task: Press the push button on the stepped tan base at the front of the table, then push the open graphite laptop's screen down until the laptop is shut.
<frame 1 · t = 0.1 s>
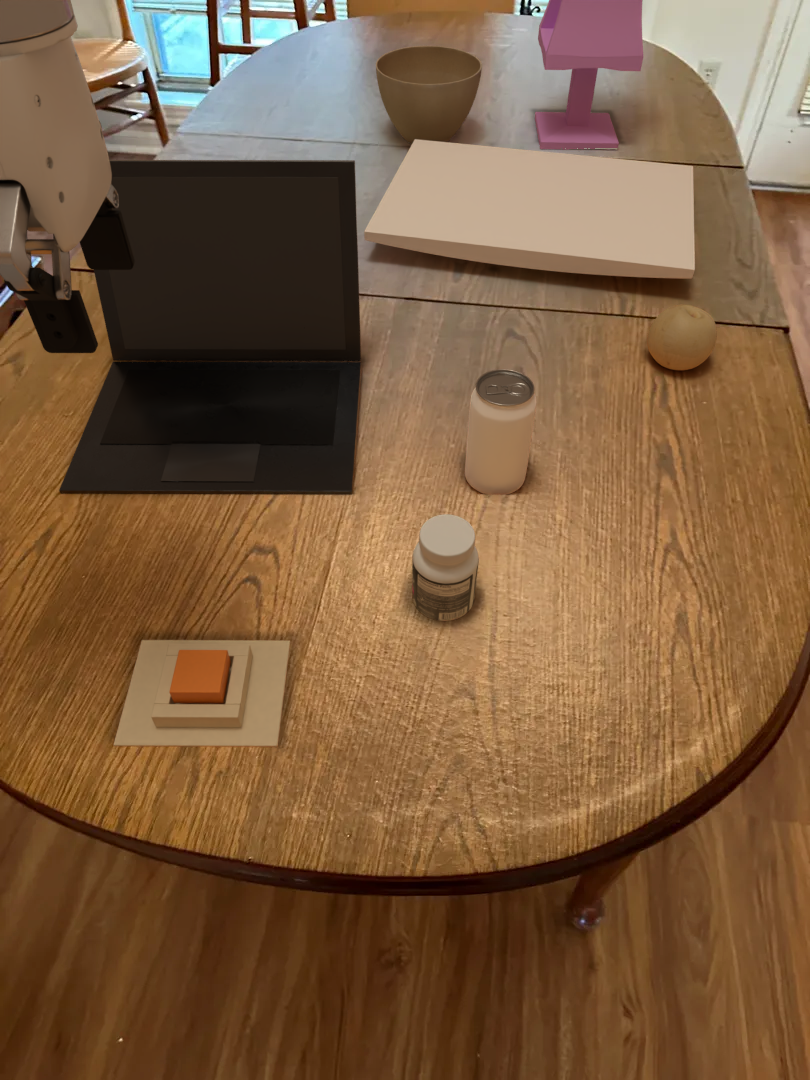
hand: (93, 306, 52), 30 cm above the table, tool pointing down, fingers open, 9 cm apart
laptop: (225, 433, 89), on the table
flower pot: (427, 139, 142), on the table
board: (534, 228, 120), on the table
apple: (674, 361, 98), on the table
can: (494, 478, 84), on the table
stepped tan base: (209, 699, 66), on the table
push button: (201, 676, 64), point 4 cm above the table, slide at 0.1 cm
laptop screen: (225, 267, 89), point 12 cm above the table, hinge at 105.0°
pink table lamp: (574, 135, 144), on the table
pill bottle: (442, 606, 73), on the table
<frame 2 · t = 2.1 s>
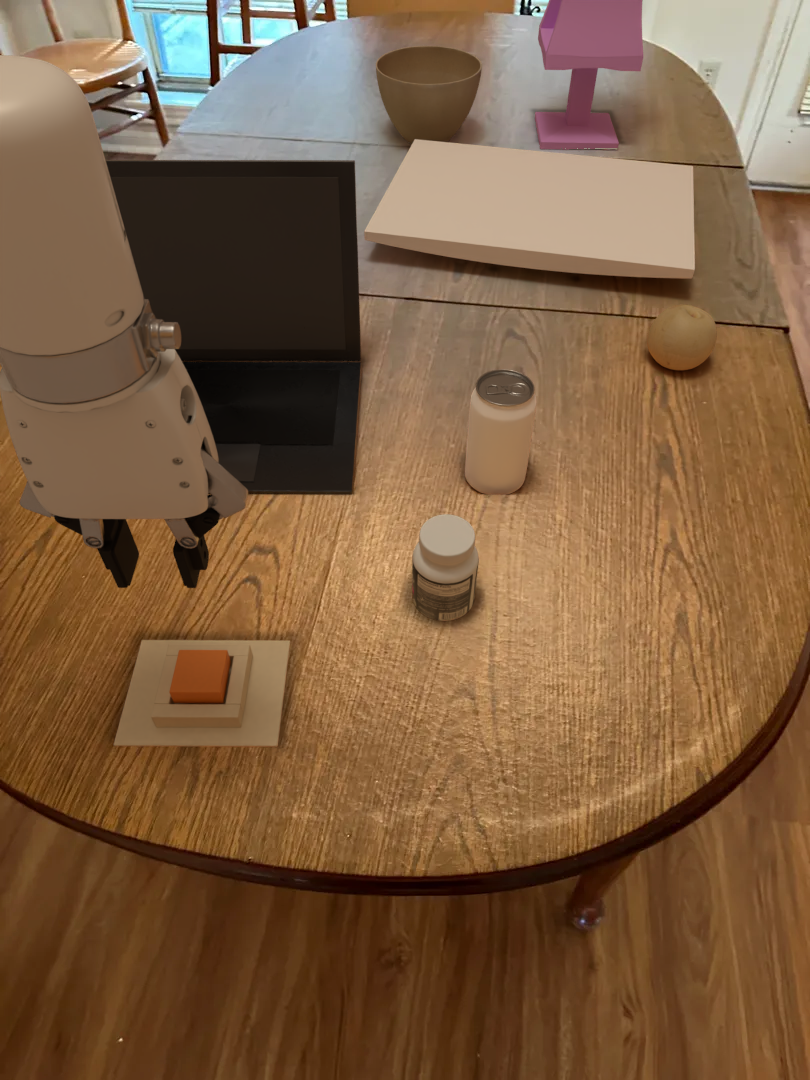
hand: (161, 569, 53), 17 cm above the table, tool pointing down, fingers open, 3 cm apart
nothing on the table moved.
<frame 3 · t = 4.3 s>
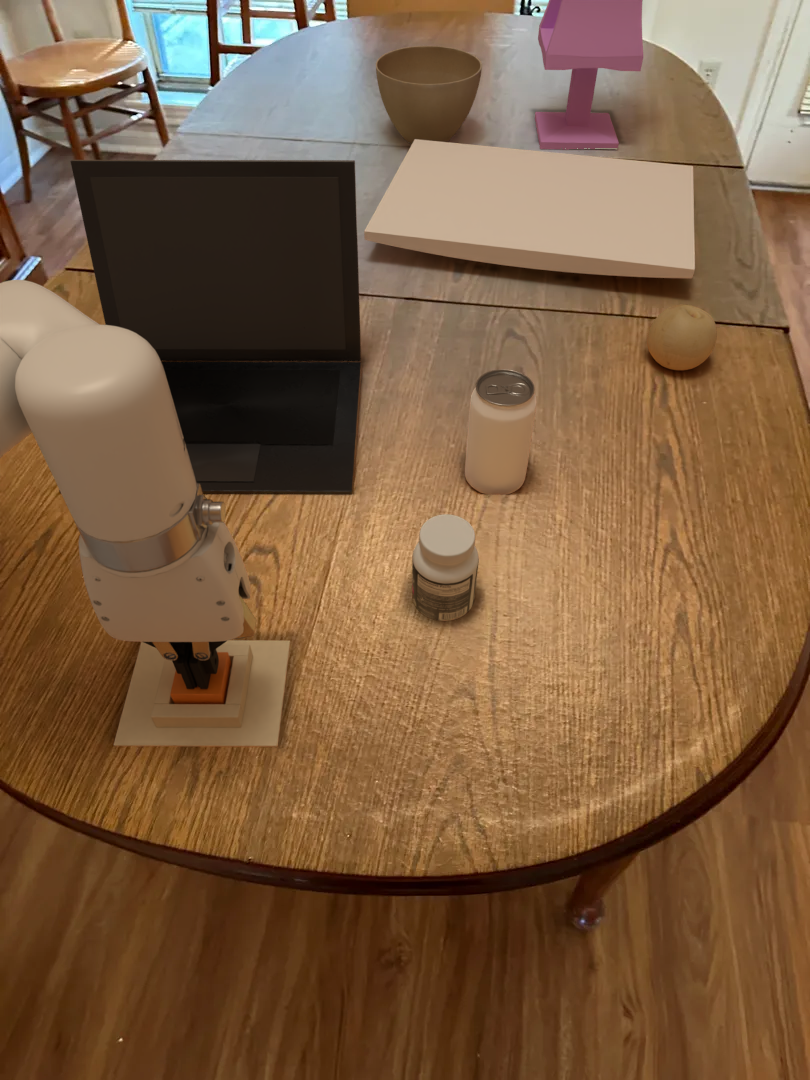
hand: (201, 673, 63), 4 cm above the table, tool pointing down, fingers closed
push button: (201, 678, 64), point 3 cm above the table, slide at -0.3 cm, touching gripper
everything else where it was.
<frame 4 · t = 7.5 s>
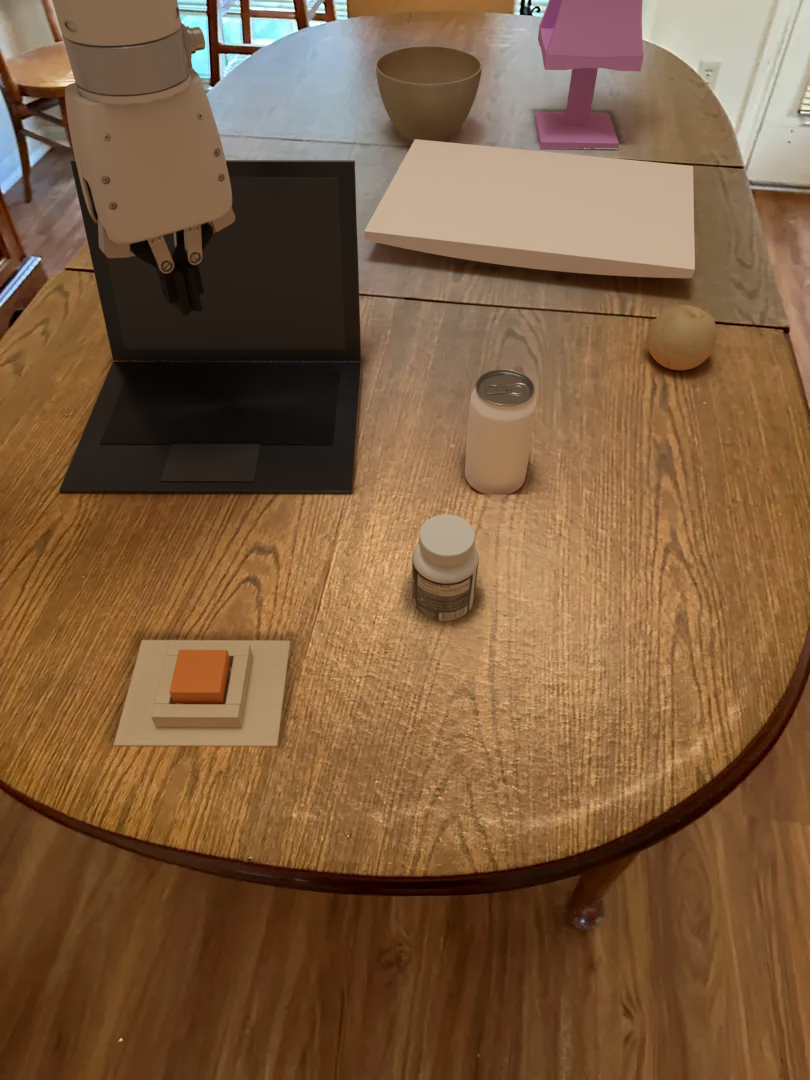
hand: (186, 305, 66), 22 cm above the table, tool pointing down, fingers closed
push button: (201, 676, 64), point 4 cm above the table, slide at 0.1 cm
everything else where it was.
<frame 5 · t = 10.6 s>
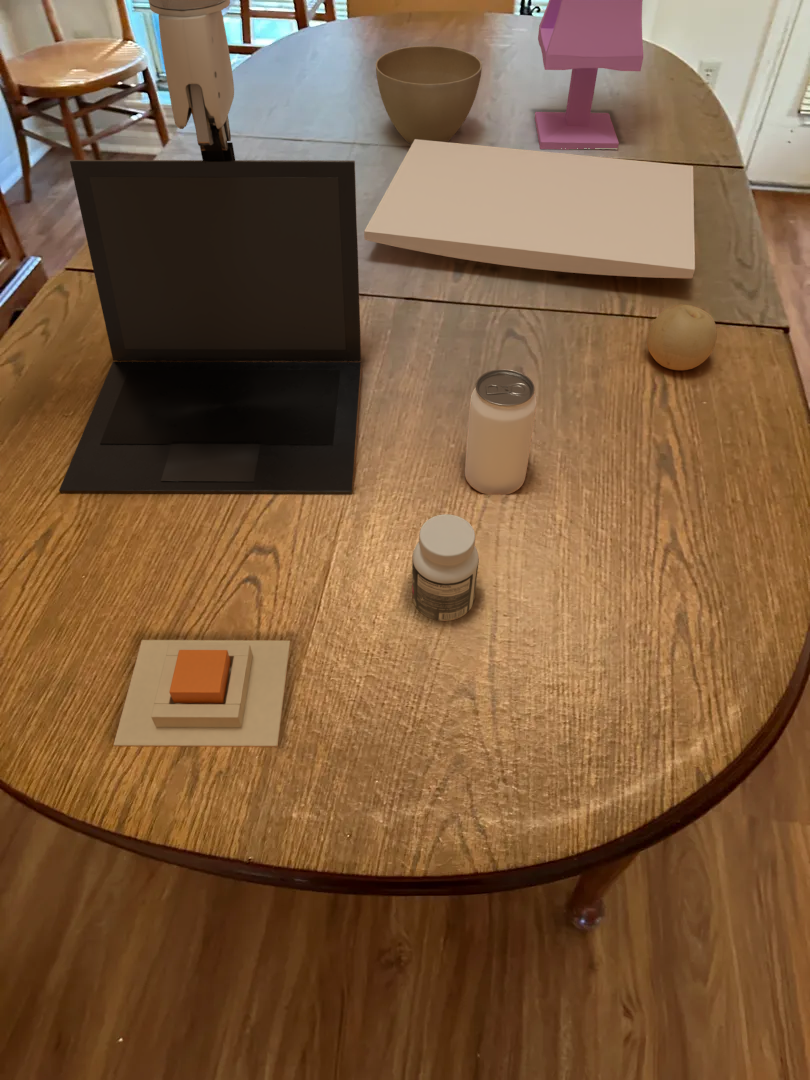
hand: (223, 182, 87), 19 cm above the table, tool pointing down, fingers closed
laptop screen: (225, 267, 89), point 12 cm above the table, hinge at 104.6°, touching gripper
everything else where it was.
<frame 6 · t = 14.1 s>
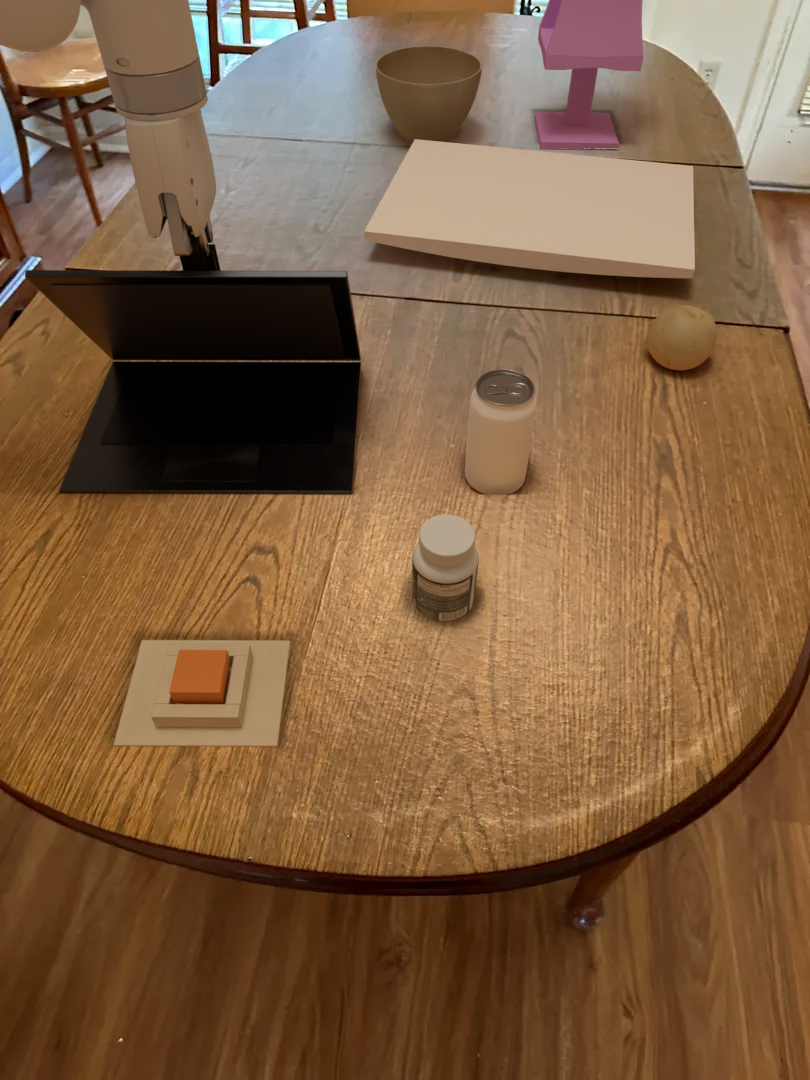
hand: (205, 285, 78), 17 cm above the table, tool pointing down, fingers closed
laptop screen: (214, 321, 84), point 11 cm above the table, hinge at 55.9°, touching gripper
everything else where it was.
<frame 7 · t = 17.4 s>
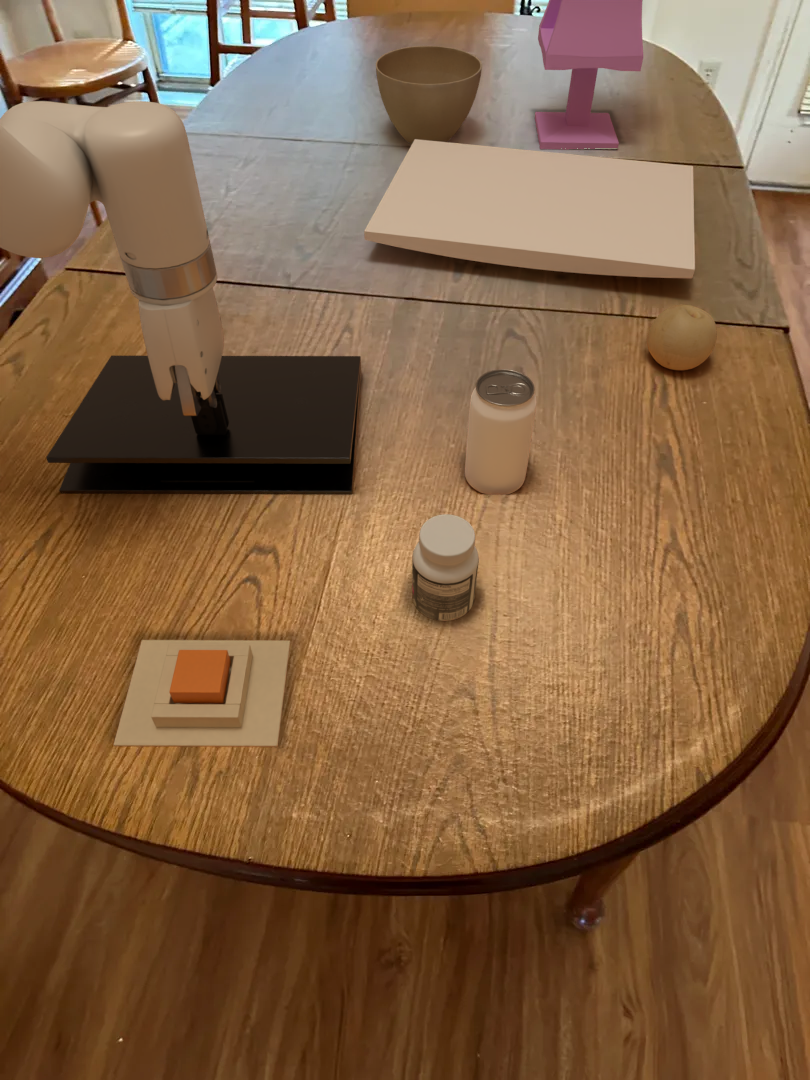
hand: (212, 429, 81), 5 cm above the table, tool pointing down, fingers closed
laptop screen: (219, 404, 86), point 4 cm above the table, hinge at 9.0°, touching gripper
everything else where it was.
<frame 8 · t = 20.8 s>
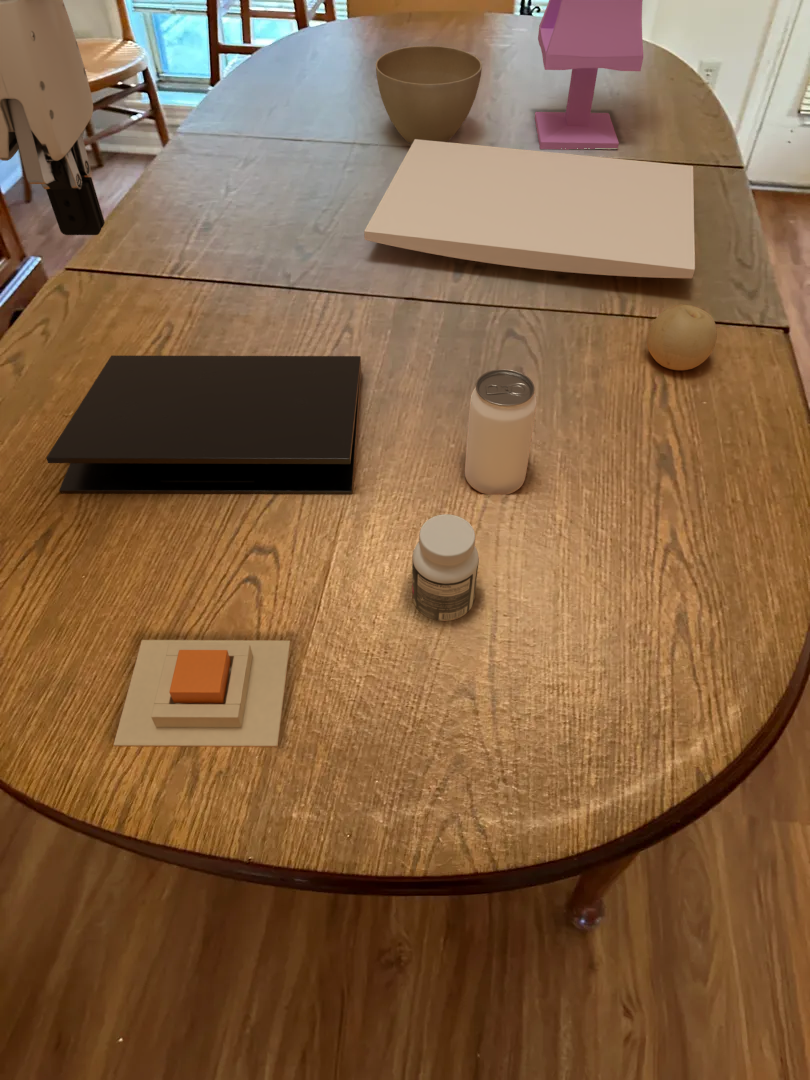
hand: (83, 229, 64), 27 cm above the table, tool pointing down, fingers closed
laptop screen: (219, 404, 86), point 4 cm above the table, hinge at 8.8°
everything else where it was.
at the end: push button pushed in 1.0 cm at the most during the clip, back to where it started at the end; push button slide at 0.1 cm; laptop screen at +9° (first picture: +105°) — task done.
